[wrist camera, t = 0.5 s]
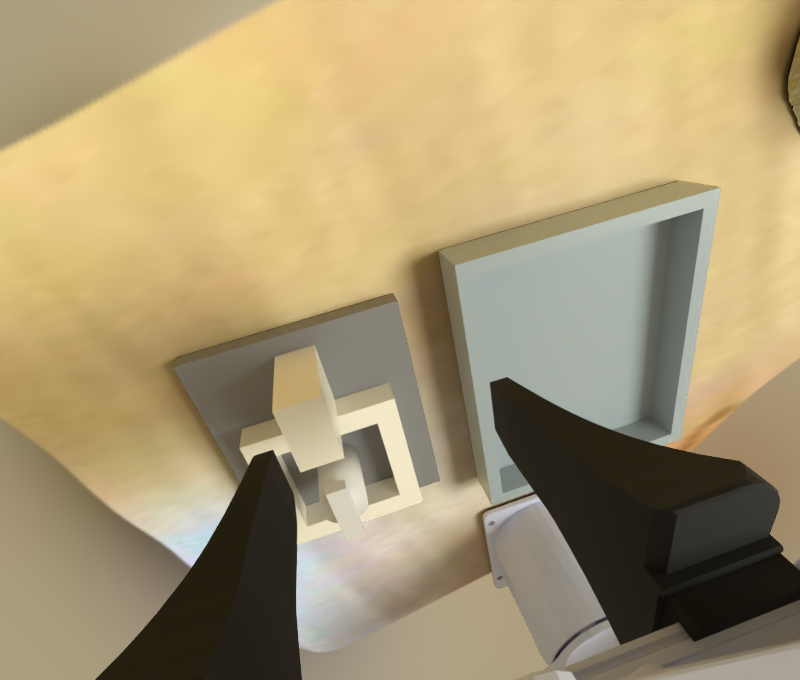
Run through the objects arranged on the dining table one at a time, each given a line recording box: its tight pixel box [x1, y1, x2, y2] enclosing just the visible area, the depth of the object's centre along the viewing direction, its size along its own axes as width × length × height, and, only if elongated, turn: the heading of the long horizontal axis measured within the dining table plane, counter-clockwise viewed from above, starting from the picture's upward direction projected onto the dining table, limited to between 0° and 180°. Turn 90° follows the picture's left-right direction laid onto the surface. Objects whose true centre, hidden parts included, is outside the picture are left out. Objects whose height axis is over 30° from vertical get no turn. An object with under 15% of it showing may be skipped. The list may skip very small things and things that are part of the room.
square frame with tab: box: [239, 345, 423, 545], centre depth 22 cm, size 12×8×4 cm
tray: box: [438, 181, 721, 506], centre depth 25 cm, size 17×14×2 cm
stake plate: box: [173, 294, 440, 541], centre depth 22 cm, size 13×11×5 cm
